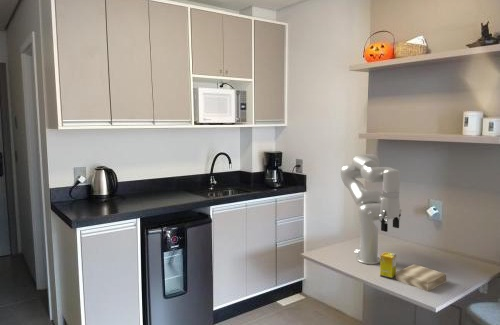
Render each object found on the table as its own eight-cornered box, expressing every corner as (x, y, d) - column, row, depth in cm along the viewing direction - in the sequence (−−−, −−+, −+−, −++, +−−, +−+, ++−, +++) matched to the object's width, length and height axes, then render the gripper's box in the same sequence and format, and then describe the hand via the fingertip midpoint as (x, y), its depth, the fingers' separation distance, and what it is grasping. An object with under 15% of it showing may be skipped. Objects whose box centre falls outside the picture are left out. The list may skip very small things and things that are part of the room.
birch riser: (395, 279, 183) (396, 271, 182) (414, 271, 192) (414, 264, 192) (427, 291, 170) (428, 282, 169) (446, 282, 179) (446, 274, 179)
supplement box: (384, 272, 191) (384, 251, 190) (396, 275, 188) (396, 254, 187) (379, 276, 187) (380, 255, 186) (392, 279, 183) (392, 257, 182)
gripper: (394, 191, 191) (393, 224, 193) (373, 195, 181) (372, 230, 183) (408, 193, 185) (407, 227, 187) (387, 198, 175) (386, 234, 177)
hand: (390, 229), depth 185 cm, fingers open, 9 cm apart
